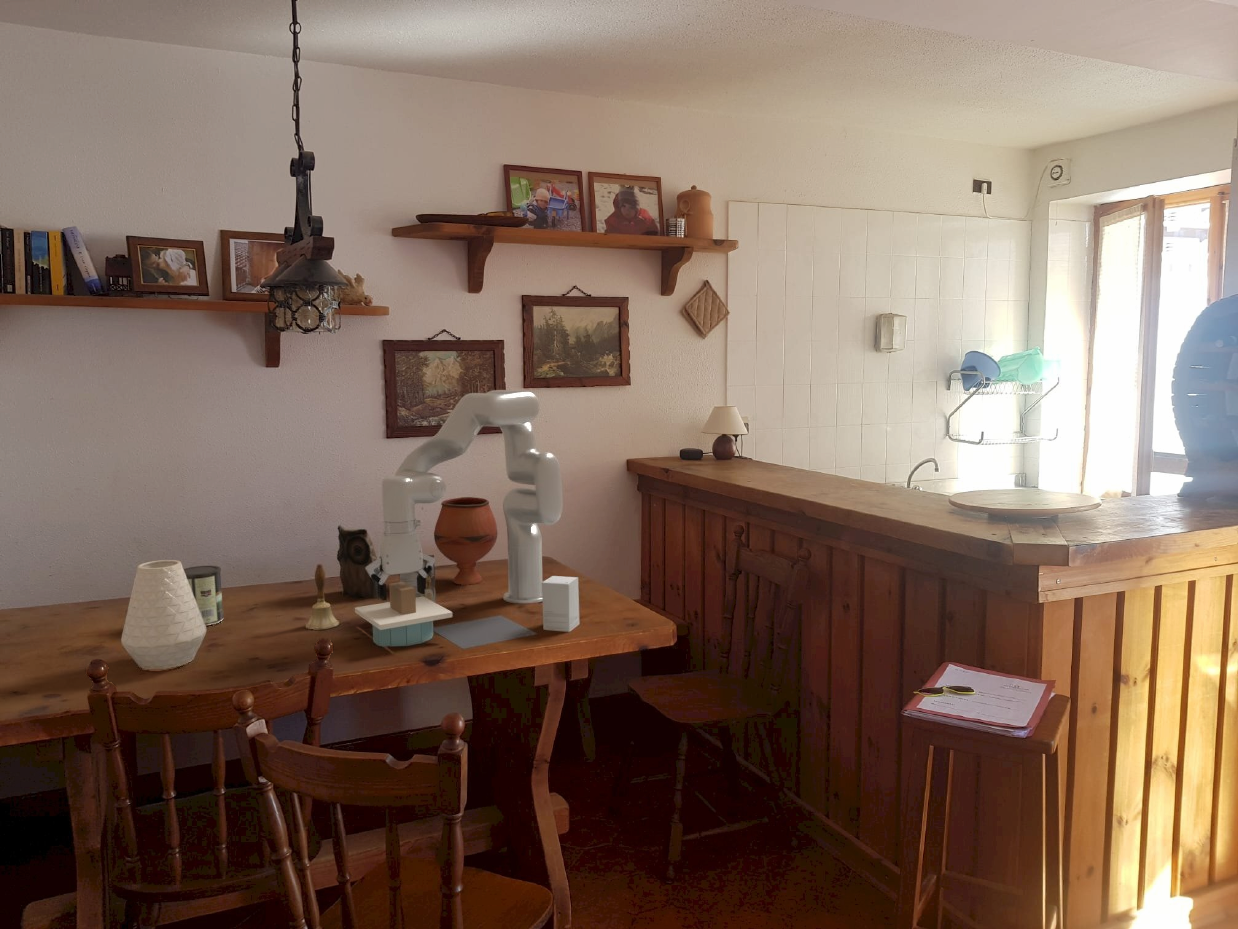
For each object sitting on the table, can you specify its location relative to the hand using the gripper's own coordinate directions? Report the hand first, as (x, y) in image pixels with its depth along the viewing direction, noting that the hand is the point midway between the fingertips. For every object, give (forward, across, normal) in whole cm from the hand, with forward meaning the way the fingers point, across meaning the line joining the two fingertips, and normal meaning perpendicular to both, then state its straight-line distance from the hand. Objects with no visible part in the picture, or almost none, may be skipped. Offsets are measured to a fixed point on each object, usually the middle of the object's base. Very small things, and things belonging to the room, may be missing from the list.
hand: (402, 596), depth 230 cm
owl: (+11, -7, -48) cm, 50 cm away
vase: (+11, +51, -14) cm, 54 cm away
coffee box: (+11, -10, -15) cm, 21 cm away
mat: (+11, -18, +7) cm, 22 cm away
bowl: (+11, 0, 0) cm, 11 cm away
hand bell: (+11, +13, -23) cm, 29 cm away
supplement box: (+11, -36, +15) cm, 40 cm away
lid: (+5, 0, 0) cm, 5 cm away
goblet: (+11, -37, -43) cm, 58 cm away
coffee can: (+11, +38, -44) cm, 59 cm away
